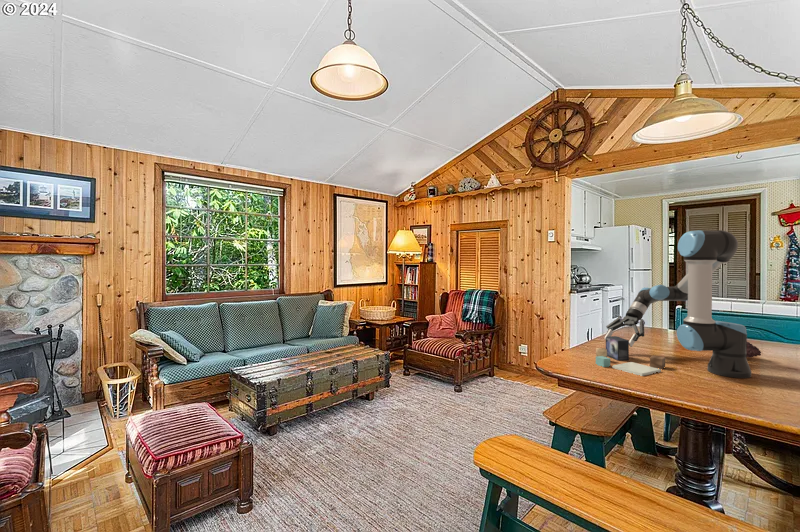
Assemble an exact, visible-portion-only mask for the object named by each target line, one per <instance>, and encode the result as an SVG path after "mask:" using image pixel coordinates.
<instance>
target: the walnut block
mask: <svg viewBox="0 0 800 532" xmlns="http://www.w3.org/2000/svg"><path fill="white" fill-rule="evenodd" d="M649 366H650V367H654V368H659V369H662V370H664V369H665V368H666V356H665V357H664V356H658V355H652V356H650V357H649ZM664 367H665V368H664ZM663 368H664V369H663Z"/></svg>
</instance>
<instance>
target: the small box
mask: <svg viewBox="0 0 800 532" xmlns="http://www.w3.org/2000/svg"><path fill="white" fill-rule="evenodd" d="M629 341H630V339H629V340H628V339H625V338H623V337H620V336H617V335H614V336H612V335H611V336H610V337H606V340H605V349H607V358H610V359H613V360H615V361H618V362H619V361H623V362H624V361H629V360H630V354H629V353H630V351H629V349H630V348H629V347H630V345H629Z"/></svg>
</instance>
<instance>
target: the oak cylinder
mask: <svg viewBox="0 0 800 532" xmlns="http://www.w3.org/2000/svg"><path fill="white" fill-rule="evenodd" d="M597 356H604V357H607V358H608V356H607V349H606V348H605V347H602V348H601V347H597V348H595V358H596V357H597Z"/></svg>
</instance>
